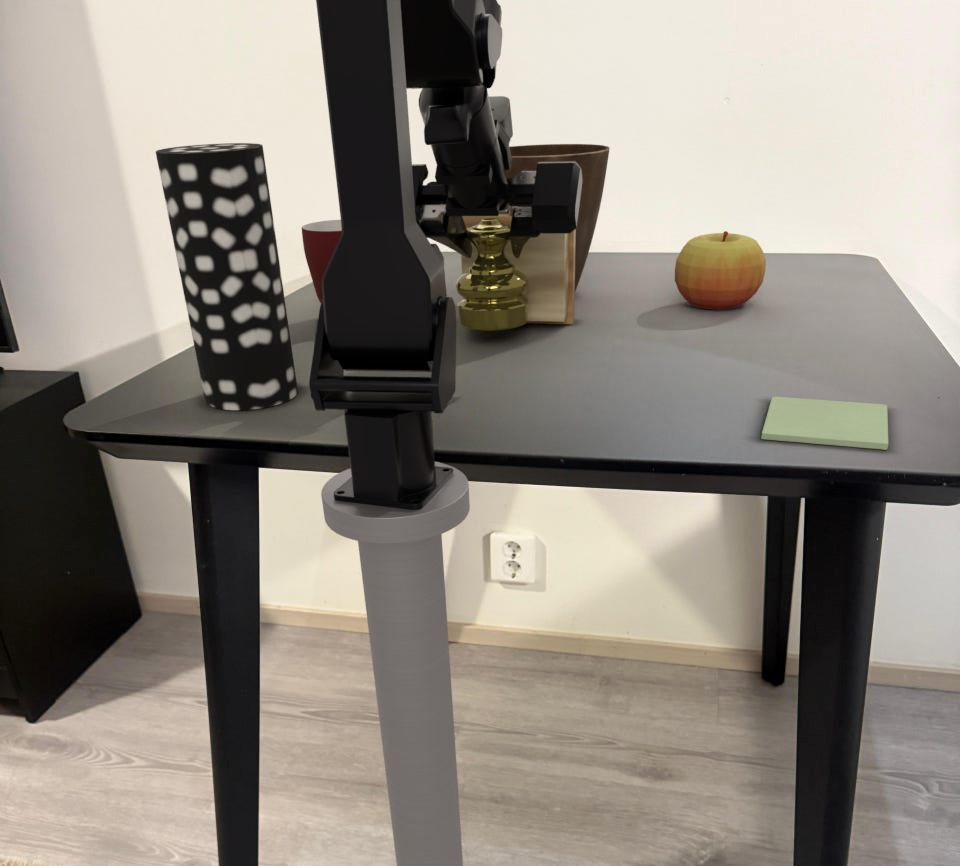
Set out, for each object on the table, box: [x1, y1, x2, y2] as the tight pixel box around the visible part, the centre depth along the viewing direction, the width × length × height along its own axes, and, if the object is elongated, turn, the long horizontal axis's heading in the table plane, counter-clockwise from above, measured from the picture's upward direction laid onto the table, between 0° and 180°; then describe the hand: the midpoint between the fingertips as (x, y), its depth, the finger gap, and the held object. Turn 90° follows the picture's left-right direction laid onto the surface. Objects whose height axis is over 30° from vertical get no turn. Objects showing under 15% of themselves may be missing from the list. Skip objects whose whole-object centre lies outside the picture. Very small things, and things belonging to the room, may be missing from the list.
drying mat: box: [760, 396, 889, 451], centre depth 73 cm, size 9×9×1 cm
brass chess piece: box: [455, 218, 529, 332], centre depth 94 cm, size 7×7×10 cm
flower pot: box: [499, 143, 611, 292], centre depth 109 cm, size 15×15×16 cm
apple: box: [674, 230, 767, 311], centre depth 104 cm, size 10×10×8 cm
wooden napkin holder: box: [460, 206, 576, 325], centre depth 98 cm, size 5×12×14 cm, turn 77°
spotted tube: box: [155, 142, 299, 411], centre depth 79 cm, size 8×8×20 cm
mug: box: [301, 219, 342, 304], centre depth 104 cm, size 11×8×10 cm
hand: (494, 254), depth 94 cm, fingers closed on brass chess piece, 5 cm apart
